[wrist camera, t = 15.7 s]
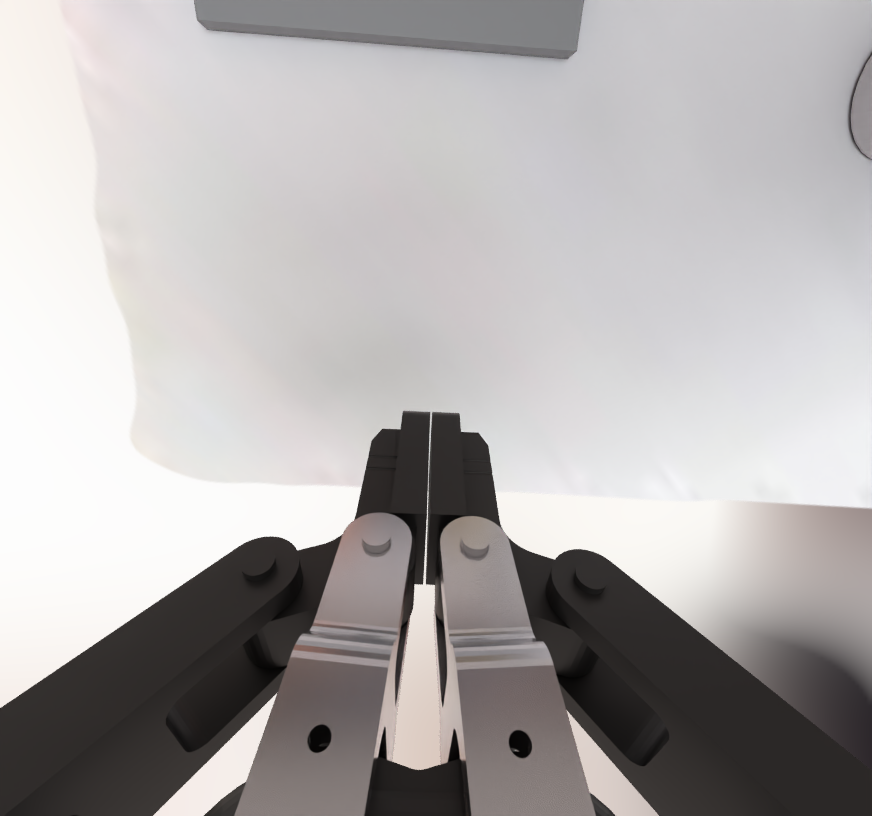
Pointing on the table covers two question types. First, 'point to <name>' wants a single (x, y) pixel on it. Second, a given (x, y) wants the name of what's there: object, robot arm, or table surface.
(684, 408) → the table surface
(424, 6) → the grey slotted tray
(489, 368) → the table surface
